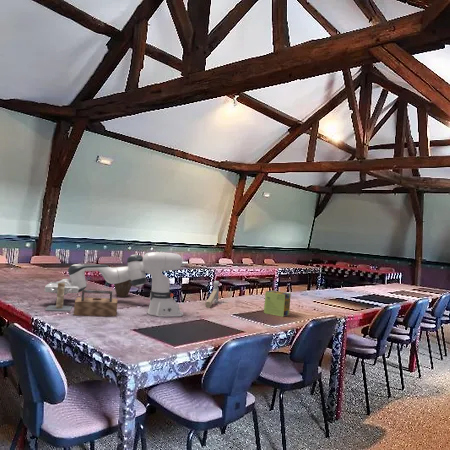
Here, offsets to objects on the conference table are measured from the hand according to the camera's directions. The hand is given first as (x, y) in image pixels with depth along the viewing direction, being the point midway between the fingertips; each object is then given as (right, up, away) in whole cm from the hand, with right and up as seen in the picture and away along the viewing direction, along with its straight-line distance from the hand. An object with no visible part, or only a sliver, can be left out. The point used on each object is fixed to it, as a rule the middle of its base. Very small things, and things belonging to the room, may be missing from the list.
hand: (60, 291), depth 261 cm
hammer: (+92, -19, +53) cm, 108 cm away
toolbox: (+24, -12, -7) cm, 28 cm away
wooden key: (0, -10, -2) cm, 10 cm away
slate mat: (0, -10, -3) cm, 11 cm away
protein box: (+138, -22, +37) cm, 145 cm away
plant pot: (+24, -13, +57) cm, 64 cm away
